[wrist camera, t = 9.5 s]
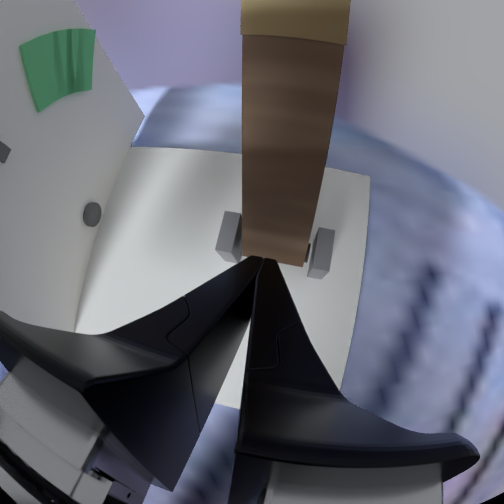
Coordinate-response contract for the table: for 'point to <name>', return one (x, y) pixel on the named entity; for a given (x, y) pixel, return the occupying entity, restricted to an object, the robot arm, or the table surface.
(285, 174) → the lever
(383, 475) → the robot arm
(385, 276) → the table surface
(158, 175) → the gauge base
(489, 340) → the table surface
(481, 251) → the table surface
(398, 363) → the table surface
